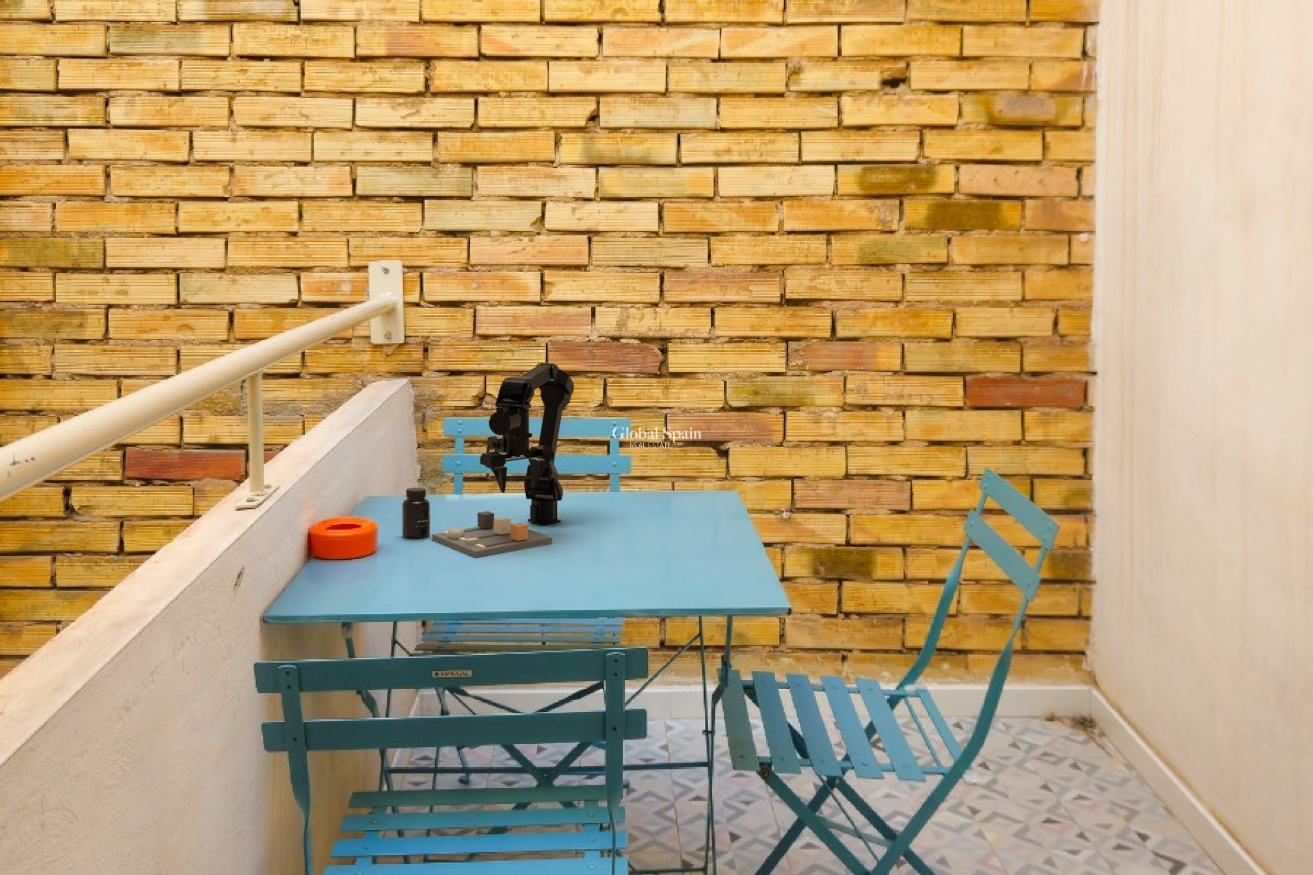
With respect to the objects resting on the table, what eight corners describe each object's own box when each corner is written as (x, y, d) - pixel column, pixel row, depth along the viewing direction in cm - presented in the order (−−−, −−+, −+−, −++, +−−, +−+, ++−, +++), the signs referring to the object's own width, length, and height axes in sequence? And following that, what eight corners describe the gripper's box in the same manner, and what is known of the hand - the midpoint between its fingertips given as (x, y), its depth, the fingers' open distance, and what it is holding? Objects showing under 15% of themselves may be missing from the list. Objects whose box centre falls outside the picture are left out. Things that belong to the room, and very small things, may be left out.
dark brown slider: (487, 524, 313) (487, 511, 312) (494, 526, 311) (494, 513, 310) (477, 526, 311) (477, 512, 310) (484, 528, 309) (483, 514, 308)
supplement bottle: (424, 540, 304) (423, 492, 302) (398, 538, 305) (397, 491, 303) (434, 533, 311) (433, 487, 309) (409, 531, 312) (408, 485, 310)
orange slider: (520, 536, 302) (520, 522, 301) (527, 538, 299) (527, 524, 299) (510, 538, 300) (510, 524, 299) (517, 540, 298) (517, 526, 297)
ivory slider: (504, 530, 307) (503, 516, 307) (510, 532, 305) (510, 519, 304) (493, 532, 305) (493, 518, 305) (500, 534, 303) (500, 520, 303)
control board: (507, 527, 318) (507, 513, 318) (552, 543, 303) (552, 529, 303) (432, 540, 304) (432, 526, 304) (475, 557, 289) (475, 543, 289)
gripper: (530, 420, 316) (531, 479, 319) (467, 427, 304) (468, 489, 307) (555, 426, 308) (556, 487, 311) (491, 434, 296) (492, 497, 299)
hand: (518, 490), depth 307 cm, fingers open, 9 cm apart
